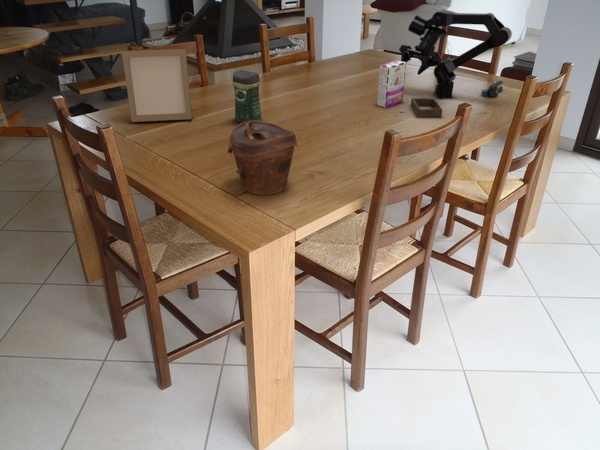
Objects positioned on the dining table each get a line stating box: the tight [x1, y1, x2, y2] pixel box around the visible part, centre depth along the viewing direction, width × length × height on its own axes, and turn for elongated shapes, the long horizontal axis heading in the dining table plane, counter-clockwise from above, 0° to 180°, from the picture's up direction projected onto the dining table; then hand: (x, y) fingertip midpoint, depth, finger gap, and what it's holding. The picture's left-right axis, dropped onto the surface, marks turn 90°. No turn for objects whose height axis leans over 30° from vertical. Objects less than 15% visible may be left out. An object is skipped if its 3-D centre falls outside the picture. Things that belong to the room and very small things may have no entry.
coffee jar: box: [232, 69, 262, 124], centre depth 183 cm, size 10×8×19 cm
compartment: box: [410, 97, 443, 119], centre depth 197 cm, size 9×14×3 cm, turn 0°
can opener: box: [481, 80, 504, 97], centre depth 218 cm, size 18×7×6 cm, turn 142°
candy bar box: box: [376, 60, 407, 109], centre depth 202 cm, size 11×5×16 cm, turn 132°
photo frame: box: [121, 48, 193, 123], centre depth 185 cm, size 15×22×25 cm
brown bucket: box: [227, 120, 299, 196], centre depth 139 cm, size 18×20×18 cm
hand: (409, 72), depth 205 cm, fingers open, 9 cm apart
